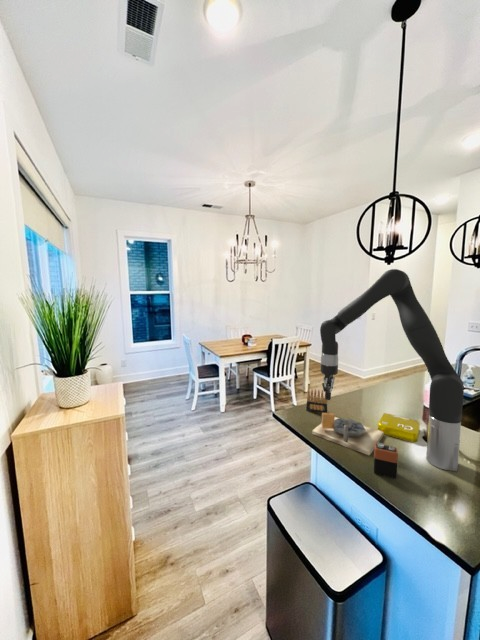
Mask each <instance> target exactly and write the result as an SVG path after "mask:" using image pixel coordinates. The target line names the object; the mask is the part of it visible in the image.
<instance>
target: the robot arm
mask: <svg viewBox="0 0 480 640" xmlns="http://www.w3.org/2000/svg"><path fill="white" fill-rule="evenodd" d="M389 296H390V297H391V299H392V301H393V302H394V304H395V306H396V308H397V311H398V315H399V319H400V324H401V326H402V330H403V331H404V334H405V336H406V338H407V340H408V342H409V344H410V345H411V346H412V348H413V350H414V351H415V353H417V355H418V356H419V357H420V358H421V360H422V361H423V363H424V365H425V367H426V368H427V372H428V374H429V376H430V380H431V383H430V385H429V396H428V397H429V399H428V400H429V402H428V411H429V412H428V426H427V439H426V440H427V441H426V461H427V462H428V463H429V464H430V465H432V466H433V467H436V468H438V469H441V470H445V471H453V472H458V467H459V459H460V457H459V456H460V447H461V446H460V443H461V431H462V430H461V426H462V417H463V407H464V405H463V403H464V395H465V394H464V391H465V389H464V382H463V380H462V378H461V377H460V375H459V374H458V373H457V371H456V370H455V369H454V367H453V365H452V363H450V360H449V358H448V357H447V354H446V353H445V350H444V346H443V345H442V344H443V343H442V342H441V339H440V337H439V335H438V333H437V331H436V329H435V326H434V325H433V323H432V321H431V320H430V318H429V316H428V315H427V313H426V311H425V309H424V307H422V305H421V303H420V301H419V300H418V299H417V296H416V294H415V292H414V289H413V285H412V284H411V280H410V277H409V275H408V274H407V273H406V272H405V271H403V270H400V269H396V268H392V269H388V270H387V271H385V272H384V273H383V274H382V275H381V276H380V277H379V278H378V279H377V280H376V281H375V282H374V283H373V284H372V285H371V286H370V287H369V288H367V290H366V291H364V292H363V293H362V294H360V295H359V296H358V297H356V298H355V299H354V300H352V301H351V302H350V303H348V304H347V305H346V306H344V307H343V308H342V309H341V310H339V312H337V314H336V315H335V316H333V318H331V319H327V320H324V321H323V322H322V323H321V324H320V329H319V331H320V332H319V334H320V340H321V343H322V344H321V356H320V373H321V374H322V375H324V376H323V379H322V380H323V382H322V383H321V386H322V389H323V393H324V396H325V399H326V400H327V401H331V399H332V391H333V390H334V384H335V380H336V378H335V376H336V375H338V373H339V372H338V371H339V343H338V341H336V340H337V339H336V335H337V334H339V333H340V332H342V331H343V330H344V329H346V327H347V326H349V325H350V324H352V323H353V322H354V321H356V320H358V319H359V318H360V317H362V316H363V315H364V314H366V312H367V311H369V309H371V308H372V307H373V306H374V305H376V304H377V303H378V302H380V301H382V300H384V299H385V298H387V297H389Z"/></svg>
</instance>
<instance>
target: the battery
mask: <svg viewBox="0 0 480 640" xmlns="http://www.w3.org/2000/svg"><path fill="white" fill-rule="evenodd" d="M397 449H398V448H397V447H395V446H393V445H387V444H384V443H382V442H379V443H378V444H377V443H375V447H374V450H373V472H374V474H375V475H380V476H383V477H387V478H391V479H397V476H398V475H397V474H398V458H399V457H398V456H399V453H398V450H397Z"/></svg>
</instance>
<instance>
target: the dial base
mask: <svg viewBox="0 0 480 640" xmlns="http://www.w3.org/2000/svg"><path fill="white" fill-rule="evenodd" d="M338 418H339V419H341V418H340V417H336V416H335V420H336V419H338ZM344 419H345V420H344V435H343V434H341V433H339V432H336V431H334V430H333V429H330V428H322V422H321V423H320V424H318V425H317V426H316V427H315V428H313V429H312V430H311V434H312V435H314V436H316V437H319V438H322V439H324V440H326V441H329V442H332V443H334V444H338V445H340V446H343V447H345V448H347V449H351V450H353V451H356V452H359V453H362V454H364V455H367V456H368V457H369V456H371V454H372V452H374V447H375V443H377V444H378V443H380V441H381V440H382V439H383V437H384V435H385V434H384V432H382V431H379V430H378V429H376V428H373V427H370V426H369V427H368V426H367V425H363V427H364V428H365V433H363V434H362V435H360V436H348V428H352V421H351V420H352V419H351V420H350V418H344Z"/></svg>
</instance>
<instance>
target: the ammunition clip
mask: <svg viewBox="0 0 480 640" xmlns="http://www.w3.org/2000/svg"><path fill="white" fill-rule="evenodd" d="M305 408H306V412H312V413H319V414H322V413H328V400H326V399H325V395H324V390H321V392H320V389H318V390H316V389H314V390H313V388H311V391H310V388H308V389H307V393H306V407H305Z"/></svg>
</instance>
